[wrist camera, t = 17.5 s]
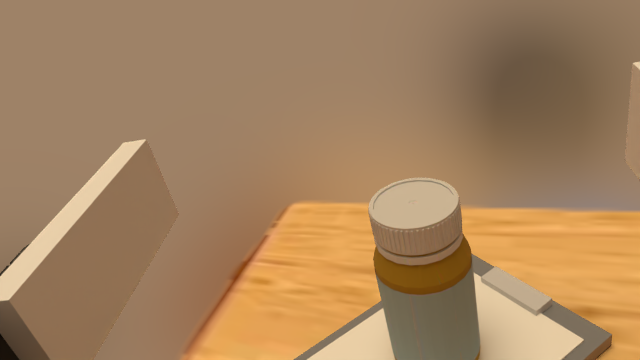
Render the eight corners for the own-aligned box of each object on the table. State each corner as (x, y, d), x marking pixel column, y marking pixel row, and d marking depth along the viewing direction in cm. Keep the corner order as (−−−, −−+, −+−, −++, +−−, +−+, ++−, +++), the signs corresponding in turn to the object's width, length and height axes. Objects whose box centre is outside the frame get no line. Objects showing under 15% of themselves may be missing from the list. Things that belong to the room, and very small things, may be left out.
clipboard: (461, 256, 55) (460, 241, 54) (611, 345, 42) (612, 327, 41) (280, 379, 46) (274, 364, 45) (399, 534, 34) (394, 518, 33)
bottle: (483, 323, 45) (469, 173, 37) (478, 394, 39) (460, 234, 32) (402, 317, 47) (374, 175, 40) (386, 382, 42) (350, 232, 35)
